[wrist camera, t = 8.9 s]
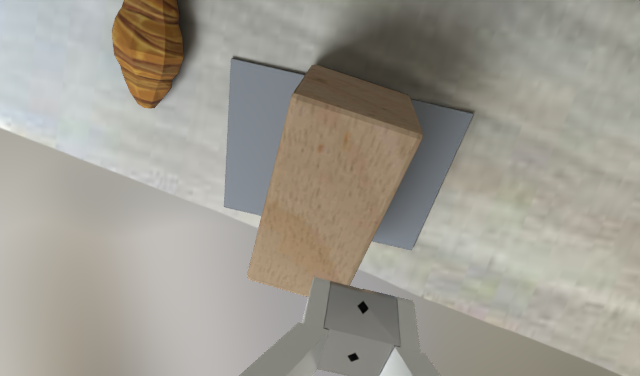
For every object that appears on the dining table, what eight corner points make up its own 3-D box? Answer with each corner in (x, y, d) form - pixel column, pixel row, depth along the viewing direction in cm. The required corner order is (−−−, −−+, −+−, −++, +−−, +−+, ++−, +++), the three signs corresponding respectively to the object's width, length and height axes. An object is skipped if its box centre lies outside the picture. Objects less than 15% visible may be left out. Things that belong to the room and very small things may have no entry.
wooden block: (291, 90, 23) (245, 280, 34) (426, 134, 24) (339, 308, 34) (311, 61, 32) (269, 221, 42) (411, 94, 32) (345, 244, 43)
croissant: (185, 115, 37) (161, 132, 33) (124, 92, 36) (92, 106, 32) (204, -23, 30) (177, -24, 26) (129, -54, 29) (88, -60, 25)
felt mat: (472, 113, 33) (473, 114, 33) (411, 248, 42) (411, 250, 42) (232, 58, 33) (231, 58, 33) (224, 205, 42) (224, 207, 42)
